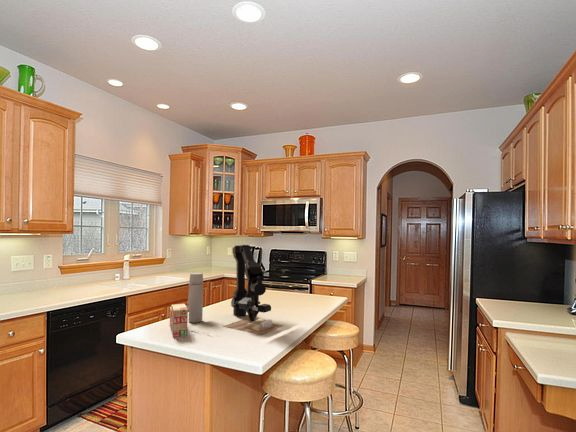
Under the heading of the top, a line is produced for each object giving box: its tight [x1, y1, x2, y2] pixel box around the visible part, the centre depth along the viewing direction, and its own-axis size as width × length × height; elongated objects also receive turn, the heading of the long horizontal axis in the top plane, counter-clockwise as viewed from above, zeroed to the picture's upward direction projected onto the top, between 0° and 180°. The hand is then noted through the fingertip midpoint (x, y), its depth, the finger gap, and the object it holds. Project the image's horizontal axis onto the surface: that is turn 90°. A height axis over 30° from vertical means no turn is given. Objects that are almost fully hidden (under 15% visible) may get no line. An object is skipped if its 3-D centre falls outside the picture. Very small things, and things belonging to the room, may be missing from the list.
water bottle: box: [186, 272, 204, 324], centre depth 180 cm, size 9×8×25 cm
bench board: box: [222, 318, 284, 336], centre depth 165 cm, size 24×18×2 cm
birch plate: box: [247, 318, 268, 331], centre depth 164 cm, size 7×10×2 cm
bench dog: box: [261, 319, 273, 331], centre depth 161 cm, size 2×7×4 cm, turn 147°
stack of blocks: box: [169, 303, 189, 338], centre depth 163 cm, size 21×6×12 cm, turn 23°
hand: (252, 323), depth 166 cm, fingers closed
